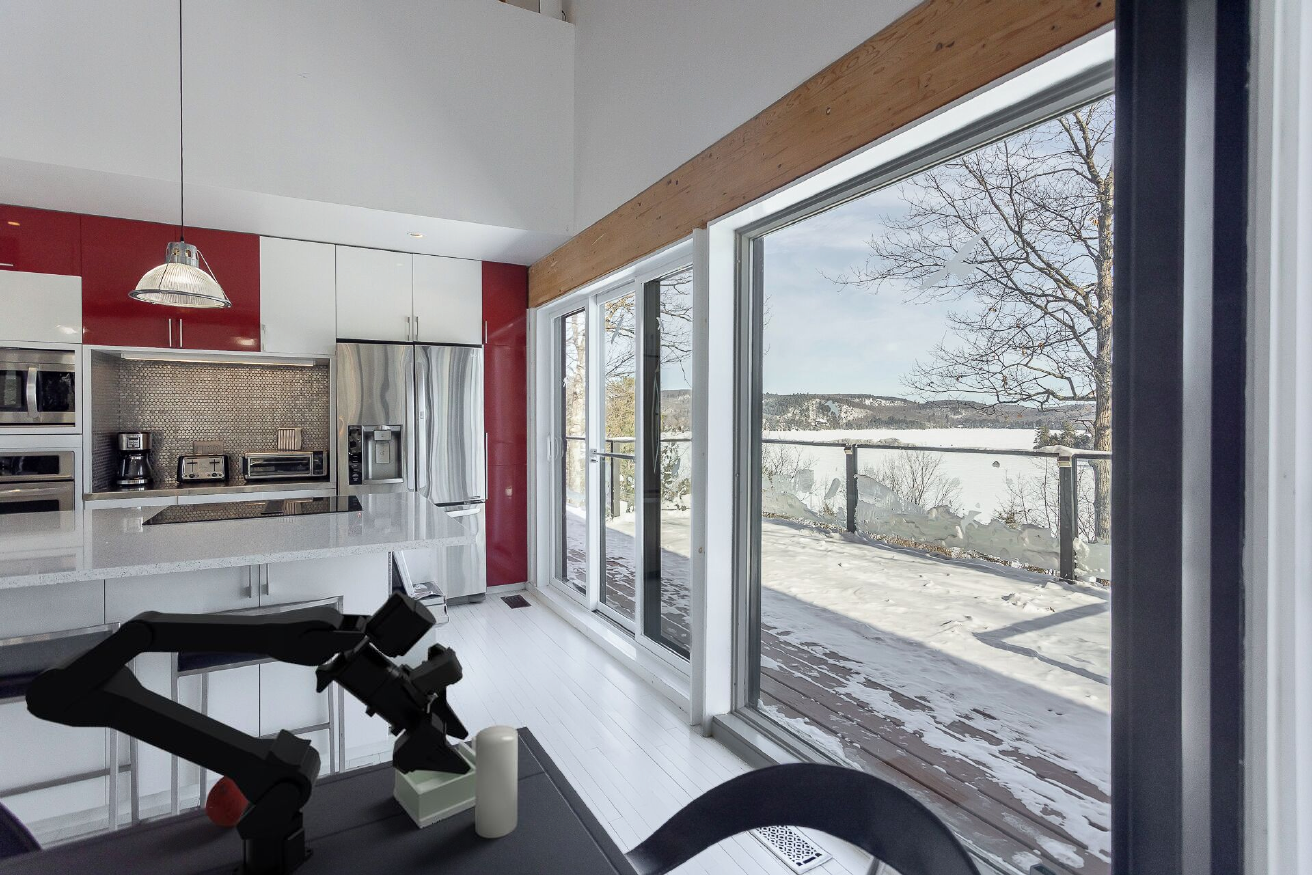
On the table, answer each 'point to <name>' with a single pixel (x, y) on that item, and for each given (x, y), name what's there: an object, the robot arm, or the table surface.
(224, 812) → the red rounded egg shape
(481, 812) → the off-white round-top cylinder
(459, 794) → the pale green holder box
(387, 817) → the table surface
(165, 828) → the table surface
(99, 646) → the robot arm
